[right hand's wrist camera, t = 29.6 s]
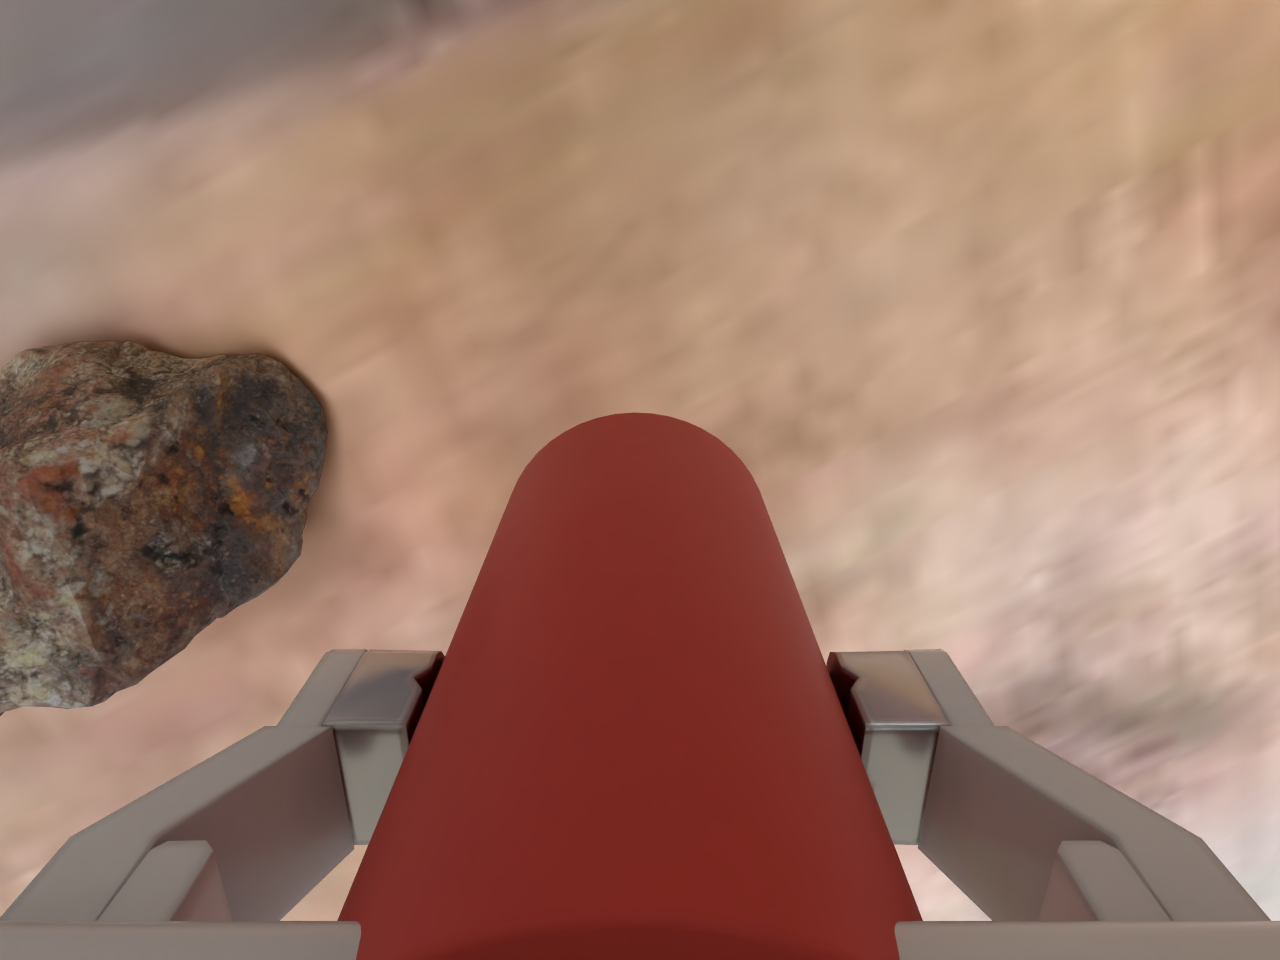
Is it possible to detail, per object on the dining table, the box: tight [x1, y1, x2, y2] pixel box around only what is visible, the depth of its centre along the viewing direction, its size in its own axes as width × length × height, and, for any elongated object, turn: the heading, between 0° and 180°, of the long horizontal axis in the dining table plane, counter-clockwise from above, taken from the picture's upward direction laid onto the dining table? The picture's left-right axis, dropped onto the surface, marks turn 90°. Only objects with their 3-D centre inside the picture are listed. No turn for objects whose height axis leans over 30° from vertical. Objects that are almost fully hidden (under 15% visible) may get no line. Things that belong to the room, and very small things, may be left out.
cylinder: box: [338, 413, 923, 960], centre depth 10 cm, size 5×5×10 cm
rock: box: [0, 341, 327, 716], centre depth 23 cm, size 14×9×10 cm
